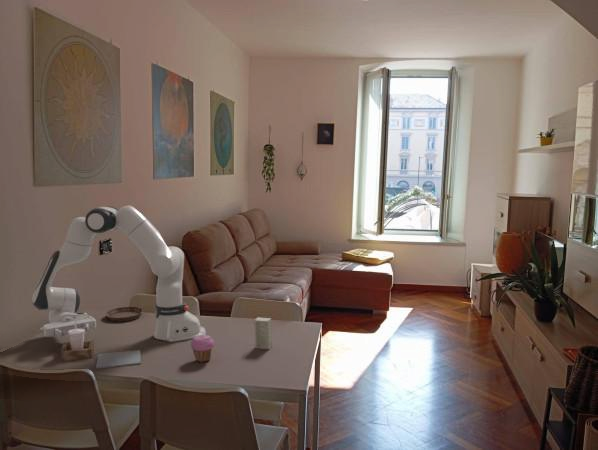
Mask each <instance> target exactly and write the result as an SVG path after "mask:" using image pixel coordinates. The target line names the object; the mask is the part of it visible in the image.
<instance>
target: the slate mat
mask: <svg viewBox="0 0 598 450" xmlns="http://www.w3.org/2000/svg"><path fill="white" fill-rule="evenodd" d="M141 355H142V354H141V350H140V349H136V350H127V351H117V352H108V353H98V354H97V359H96V365H95V366H96V367H95V369H105V368H106V369H107V368H108V369H109V368H116V367H125V366H133V365H136V366H137V365H142V364H141V363H142V360H141V358H142V357H141Z"/></svg>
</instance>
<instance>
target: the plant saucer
mask: <svg viewBox="0 0 598 450" xmlns="http://www.w3.org/2000/svg"><path fill="white" fill-rule="evenodd" d="M143 311H144V310H143V308H141V307H138V306H122V307H116V308H112V309H110V310H108V311H106V312H105V316H106V317H107V318H108V319H109V320H110V321H113V322H130V321H133V319H134V320H137V319H138V318H139V317H141V315H142V314H143ZM119 313H120V314H119Z"/></svg>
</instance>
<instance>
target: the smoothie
mask: <svg viewBox="0 0 598 450" xmlns="http://www.w3.org/2000/svg"><path fill="white" fill-rule="evenodd" d="M85 334H86V331H85V329H77V328H76V320H75V329H73V330H70V331H68V334H67V335H68V336H69V342H70V343H71V348H72V350H78V349H83V345H84V341H85Z"/></svg>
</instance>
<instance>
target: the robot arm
mask: <svg viewBox="0 0 598 450" xmlns="http://www.w3.org/2000/svg"><path fill="white" fill-rule="evenodd" d="M116 229H120V230H121V231H122V232H123V233H124V234H125V236H127V237H128V238H129V240H130V241H131V242H132V243H133V244H134V245H135V246H136V247H137V248H138V249H139V251H140V252H141V254H142V255H143V257H144V258H145V260H146V261H147V263H148V264H149V267H150V270H151V272H152V273H153V274H154V275H155V276H157V282H156V287H155V290H156V293H155V294H156V303H155V318H156V321H155V322H156V323H155V328H154V333H153V337H154V339H157V340H162V341H166V342H170V343H173V342H179V341H185V340H193V338H195V337H196V336H198V335H207V333H206V329H205V327H204V326H201V323H200V319H199V318H198V317H197V316H196V315H194V314H193V313H191V312H189V310H190V308H189V306H188V304H186V303H185V302H183V279H184V268H185V267H184V265H185V264H184V263H185V253H184V251H183V250H182V249H181V248H179V247H177V246H175V245H173V246H172V245H171V246H167V243H166V242H165V240H164V239H163V237H162V235H161V232H159V230H158V229H157V228H156V227H155V226H154V225H153V223H152V222H150V221H149V219H148V218H147V217H145V216H144V215H143V213H141V212H140V210H138V209H136V208H135V207H134V206H132V205H125V206H122V207H120V208H119V209H117V208H116V207H114V206H100V207H95V208H93V209H90V211H88V212H87V214H86V215H85V216H77V217H75V218H74V219H72V221H71V223H70V226H69V228H68V231H67V232H66V236H65V241H64V242H63V245H62V246H61V247H60V248H59V249H58V250H55V251H54V252H53V254H52V255H51V257H50V258H49V261H48V262H47V265H46V267H45V269H44V272H43V274H42V276H41V278H40V280H39V282H38V285H37V286H36V289H35V290H34V292H33V294H32V299H31V301H32V302H31V303H32V305H33V306H34V307H35V309H37V310H39V311H44V310H46V311H47V310H50V311H49V312H48V321H49V323H46V324H44V325H43V326H42V327H40V328H39V329H40V331H41V332H43V336H44V338H50V337H55V336H56V337H57V336H59V337H63V336H65V335H68V331H70V330H73V329H75V320H76V328H77V329H85V332H89V331H90V330H92V329H93V330H94V329H96V328H97V320H96V318H94V317H93V316H91V315H88V313H87V312H78V310H79V308H80V303H81V297H80V294H79V293H78V291H77V290H76V289H75V288H70V287H59V286H57V287H56V286H52V284H53V281H54V280H55V278H56V275H57V272H58V271H59V270H61V268H63V267H66V266H69V265H73V264H78V263H80V262H83V261H85V260H86V259H87V258H88V257H89V256H90V254H91V251H92V248H93V243H94V240H95V239H94V238H95V236H96V235H97V234H103V233H110V232H111V231H115V230H116Z"/></svg>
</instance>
